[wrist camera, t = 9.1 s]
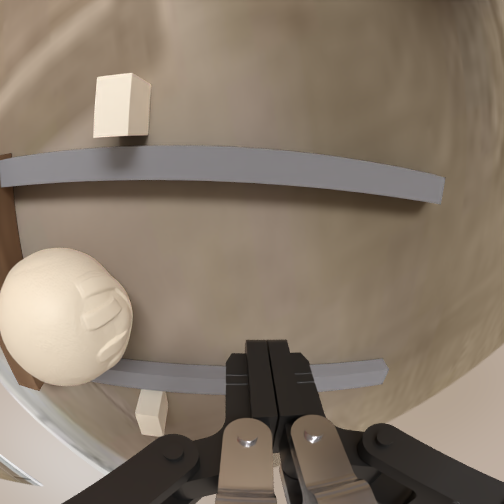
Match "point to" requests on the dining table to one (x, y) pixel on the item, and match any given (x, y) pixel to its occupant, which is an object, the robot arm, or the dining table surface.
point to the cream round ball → (64, 317)
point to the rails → (229, 170)
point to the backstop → (3, 260)
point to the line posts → (130, 124)
